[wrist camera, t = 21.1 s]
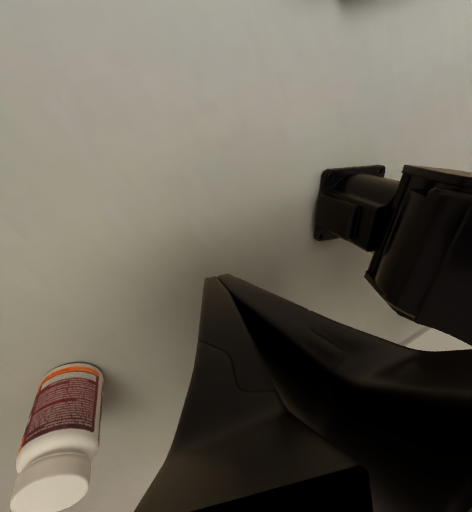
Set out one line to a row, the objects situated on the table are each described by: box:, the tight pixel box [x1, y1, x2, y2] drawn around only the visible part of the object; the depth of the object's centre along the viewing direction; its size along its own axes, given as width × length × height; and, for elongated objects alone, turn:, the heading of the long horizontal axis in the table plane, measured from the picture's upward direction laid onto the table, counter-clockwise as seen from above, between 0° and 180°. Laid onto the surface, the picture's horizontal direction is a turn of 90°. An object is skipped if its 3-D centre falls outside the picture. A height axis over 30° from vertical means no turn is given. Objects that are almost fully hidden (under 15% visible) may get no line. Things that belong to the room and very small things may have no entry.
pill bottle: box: [10, 363, 104, 512], centre depth 19 cm, size 5×5×8 cm
